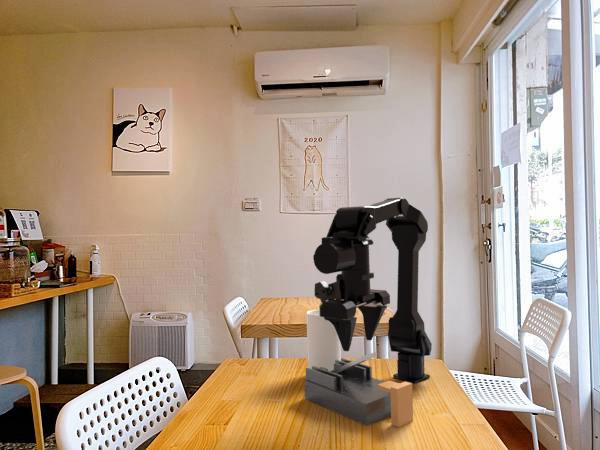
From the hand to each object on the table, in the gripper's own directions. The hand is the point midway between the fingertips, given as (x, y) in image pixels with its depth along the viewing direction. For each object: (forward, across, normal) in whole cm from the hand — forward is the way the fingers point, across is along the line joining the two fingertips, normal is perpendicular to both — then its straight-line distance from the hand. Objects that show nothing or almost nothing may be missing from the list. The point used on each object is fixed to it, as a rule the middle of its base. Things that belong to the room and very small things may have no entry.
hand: (358, 345), depth 91 cm
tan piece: (+13, +1, +8) cm, 15 cm away
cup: (+13, -13, -17) cm, 25 cm away
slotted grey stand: (+13, -2, -2) cm, 13 cm away
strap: (+6, -2, -3) cm, 7 cm away
